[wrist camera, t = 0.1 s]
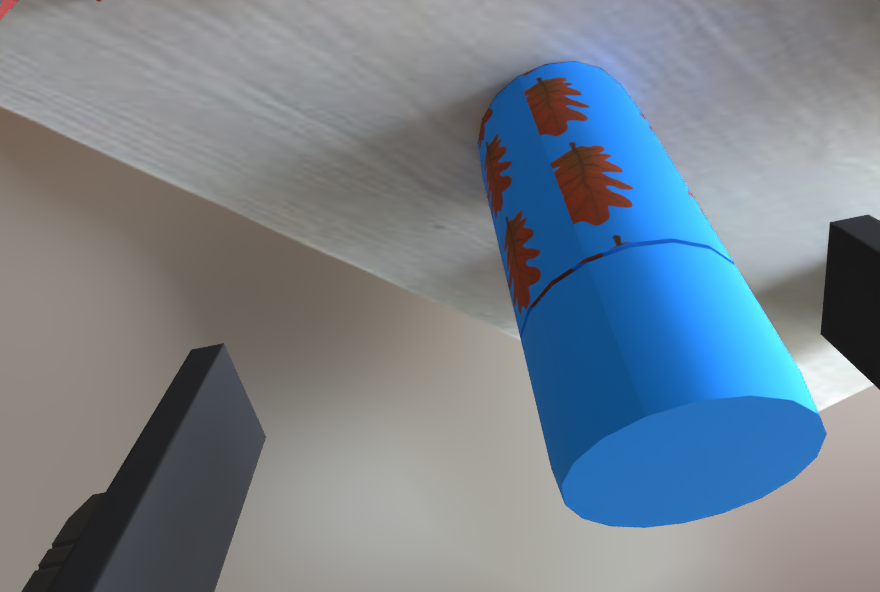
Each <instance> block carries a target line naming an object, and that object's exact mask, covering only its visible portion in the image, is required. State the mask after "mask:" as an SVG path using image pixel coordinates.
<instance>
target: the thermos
mask: <svg viewBox="0 0 880 592" xmlns="http://www.w3.org/2000/svg"><path fill="white" fill-rule="evenodd" d="M478 148H479V155H480V162H481V169H482V176H483V181H484V185H485V189H486V194H487V198H488V203H489V207H490V211H491V215H492V219H493V224H494V228H495V232H496V236H497V241H498V245H499V249H500V253H501V257H502V262H503V266H504V270H505V274H506V279H507V283H508V287H509V291H510V295H511V300H512V304H513V308H514V312H515V317H516V321H517V325H518V329H519V333H520V338H521V342H522V346H523V350H524V354H525V359H526V363H527V367H528V371H529V376H530V380H531V384H532V388H533V393H534V396H535V401H536V405H537V409H538V413H539V418H540V422H541V426H542V431H543V435H544V439H545V443H546V447H547V452H548V456H549V460H550V464H551V469H552V471H553V474H554V477H555V479H556V482H557V484H558V487H559V490H560V492H561V495H562V498H563V500H564V503H565V505H566V506H567V507H569V508H570V509H571V510H572V511H574V512H575V513H576V514H577V515H579V516H580V517H581V518H583V519H586V520H590V521H593V522H597V523H601V524H604V525H608V526H619V527H642V528H645V527H654V526H663V525H671V524H680V523H686V522H690V521H694V520H698V519H701V518H705V517H710V516H713V515H718V514H721V513H725V512H727V511H730V510H732V509H735V508H737V507H740V506H742V505H744V504H747V503H750V502H752V501H755V500H757V499H760V498H762V497H764V496H765V495H767V494H769V493H770V492H772V491H774V490H776V489H777V488H779V487H780V486H782V485H784V484H786V483H787V482H789V481H791V480H792V479H794V478H795V477H796V476H797V475H798V474H799V473H800V472H801V471H803V470H804V469H805V468H806V467H807V466H808V465H809V464H810V463H811V462H812V461H813V460H814V459H815V458H816V457H817V456H818V453H819V451H820V449H821V446H822V444H823V441H824V439H825V437H826V431H825V429H824V426H823V423H822V421H821V418H820V416H819V413H818V411H817V408H816V406H815V404H814V402H813V399H812V397H811V395H810V392H809V390H808V388H807V385H806V383H805V381H804V378H803V376H802V374H801V372H800V370H799V369H798V367H797V365H796V364H795V362H794V360H793V359H792V357H791V355H790V354H789V352H788V351H787V349H786V347H785V346H784V344H783V342H782V341H781V339H780V337H779V336H778V334H777V333H776V331H775V329H774V328H773V326H772V324H771V323H770V321H769V319H768V318H767V316H766V315H765V313H764V311H763V310H762V308H761V306H760V305H759V303H758V301H757V300H756V298H755V297H754V295H753V293H752V292H751V290H750V288H749V287H748V285H747V283H746V282H745V280H744V279H743V277H742V275H741V274H740V272H739V270H738V269H737V267H736V266H735V265H734V262H733V261H732V259H731V257H730V256H729V254H728V252H727V251H726V249H725V247H724V246H723V244H722V243H721V241H720V239H719V238H718V236H717V234H716V233H715V231H714V229H713V228H712V226H711V225H710V223H709V221H708V220H707V218H706V216H705V215H704V213H703V211H702V210H701V208H700V207H699V205H698V203H697V202H696V200H695V198H694V197H693V195H692V193H691V192H690V190H689V189H688V187H687V185H686V184H685V182H684V180H683V179H682V177H681V175H680V174H679V172H678V171H677V169H676V167H675V166H674V164H673V162H672V161H671V159H670V157H669V156H668V154H667V153H666V151H665V149H664V148H663V146H662V144H661V143H660V141H659V139H658V138H657V136H656V135H655V133H654V131H653V130H652V128H651V126H650V125H649V123H648V121H647V120H646V118H645V117H644V115H643V113H642V112H641V110H640V109H639V108H638V106H637V105H636V104H635V102H634V101H633V100H632V99H631V97H630V96H629V95H628V93H627V92H626V91H625V89H624V88H623V87H622V85H621V84H620V83H619V82H618V81H616V80H615V79H614V78H613V77H611V76H610V75H609V74H608V73H606V72H605V71H604V70H602V69H601V68H598V67H594V66H590V65H586V64H583V63H579V62H565V63H555V64H546V65H543V66H541V67H539V68H537V69H534V70H532V71H530V72H528V73H525V74H523V75H521V76H518V77H517V78H516V79H515V80H514V81H513V82H512V83H510V84H509V85H508V86H507V87H506V88H505V89H504V90H502V91H501V92H500V93H499V94H498V95H497V96H496V97H495V99H494V100H493V102H492V104H491V105H490V107H489V109H488V111H487V112H486V114H485V116H484V117H483V119H482V124H481V129H480V135H479V140H478Z"/></svg>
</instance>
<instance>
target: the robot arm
mask: <svg viewBox="0 0 880 592" xmlns="http://www.w3.org/2000/svg"><path fill="white" fill-rule="evenodd" d="M821 335H822V336H823V337H824V338H825V339H826V340H827V341H829V342H830V343H831V344H832V345H833V346H834V347H835V348H836V349H837V350H838V351H839V352H840V353H841V354H842V355H843V356H844V357H846V358H847V359H848V360H849V361H850V362H851V363H852V364H853V365H854V366H855V367H856V368H857V369H858V370H859V371H860V372H861V373H863V374H864V375H865V376H866V377H867V378H868V379H869V380H870V381H871V382H872V383H873V384H874V385H875V386H876V387H877V388H878V389H880V221H879V220H877V219H875V218H873V217H872V216H870V215H864V216H859V217H854V218H849V219H844V220H839V221H834V222H830V229H829V241H828V252H827V264H826V276H825V287H824V299H823V311H822V322H821ZM265 438H266V436H265V434H264V431H263V429H262V427H261V425H260V423H259V420H258V418H257V416H256V414H255V412H254V409H253V407H252V405H251V403H250V400H249V398H248V396H247V394H246V391H245V389H244V387H243V385H242V382H241V380H240V378H239V376H238V374H237V372H236V369H235V367H234V365H233V363H232V360H231V358H230V356H229V354H228V352H227V349H226V347H225V345H224V343H223V344H218V345H213V346H208V347H203V348H198V349H193V350H191V351H190V353H189V355H188V356H187V358H186V360H185V361H184V363H183V365H182V366H181V368H180V370H179V372H178V373H177V375H176V376H175V378H174V380H173V381H172V383H171V385H170V386H169V388H168V390H167V391H166V393H165V395H164V396H163V398H162V400H161V401H160V403H159V404H158V406H157V408H156V410H155V411H154V413H153V415H152V416H151V418H150V419H149V421H148V423H147V425H146V426H145V428H144V429H143V431H142V433H141V434H140V436H139V438H138V439H137V441H136V443H135V444H134V446H133V448H132V449H131V451H130V453H129V454H128V456H127V458H126V459H125V461H124V463H123V464H122V466H121V468H120V470H119V471H118V473H117V474H116V476H115V478H114V479H113V481H112V483H111V484H110V486H109V488H108V489H107V491H106V492H105V493H100V494H94V495H92V496H91V497H90V498H89V499H88V500H87V501H86V502H85V503H84V504H83V505H82V506H81V507H80V508H79V509H78V510H77V511H76V512H75V513H74V514H73V515H72V516H71V517H69V518H68V520H67V521H66V523H65V525H64V526H63V528H62V529H61V531H60V533H59V534H58V535H57V537H56V539H55V540H54V542H53V543H52V549H49V550H48V551H47V553H46V554H45V556H44V557H43V559H42V560H41V562H40V564H39V565H38V566H39V570H37V571H34V573H33V575H32V576H31V578H30V579H29V581H28V582H27V584H26V585H25V587H24V589H23V590H22V592H214V591H215V588H216V585H217V582H218V579H219V576H220V573H221V570H222V567H223V564H224V561H225V558H226V555H227V552H228V549H229V546H230V543H231V540H232V537H233V534H234V531H235V528H236V525H237V522H238V519H239V516H240V513H241V510H242V507H243V504H244V501H245V498H246V495H247V492H248V489H249V486H250V483H251V480H252V477H253V474H254V471H255V468H256V465H257V462H258V459H259V456H260V453H261V450H262V447H263V444H264V441H265Z"/></svg>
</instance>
